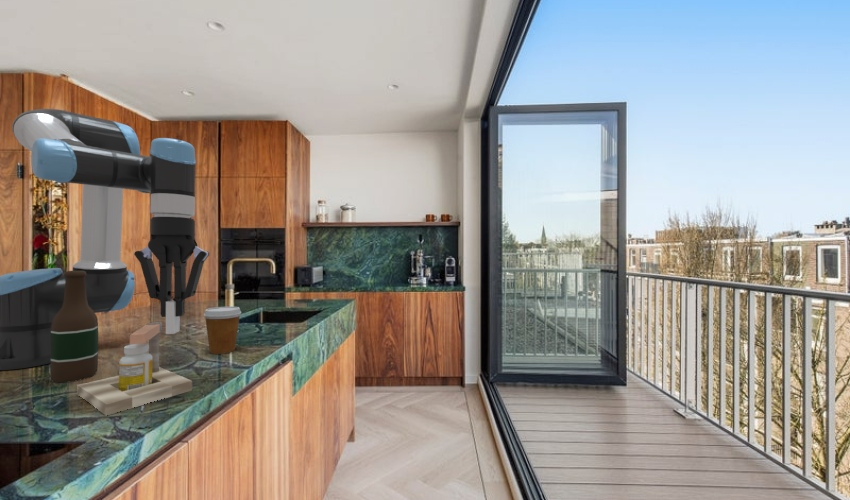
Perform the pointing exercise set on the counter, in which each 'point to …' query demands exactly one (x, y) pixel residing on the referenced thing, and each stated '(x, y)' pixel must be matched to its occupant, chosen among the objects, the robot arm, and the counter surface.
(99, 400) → the keeper board
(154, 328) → the bar
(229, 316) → the disposable coffee cup
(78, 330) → the beer bottle
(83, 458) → the counter surface
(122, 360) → the supplement bottle
